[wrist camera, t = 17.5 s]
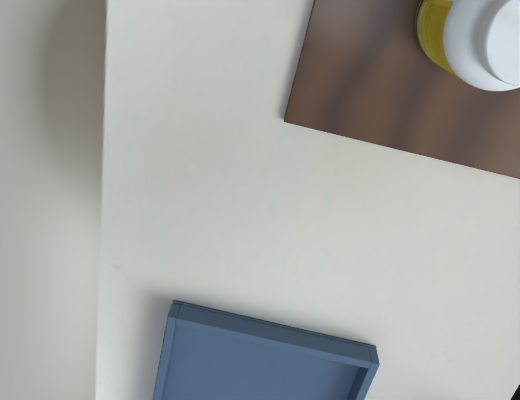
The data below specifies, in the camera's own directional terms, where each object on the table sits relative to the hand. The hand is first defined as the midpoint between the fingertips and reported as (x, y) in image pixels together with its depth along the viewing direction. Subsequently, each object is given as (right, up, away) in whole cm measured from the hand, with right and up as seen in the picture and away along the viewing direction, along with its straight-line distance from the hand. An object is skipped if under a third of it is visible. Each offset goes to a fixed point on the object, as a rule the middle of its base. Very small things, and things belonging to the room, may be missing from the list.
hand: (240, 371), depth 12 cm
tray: (0, -14, +38) cm, 40 cm away
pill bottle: (+14, +17, +22) cm, 31 cm away
